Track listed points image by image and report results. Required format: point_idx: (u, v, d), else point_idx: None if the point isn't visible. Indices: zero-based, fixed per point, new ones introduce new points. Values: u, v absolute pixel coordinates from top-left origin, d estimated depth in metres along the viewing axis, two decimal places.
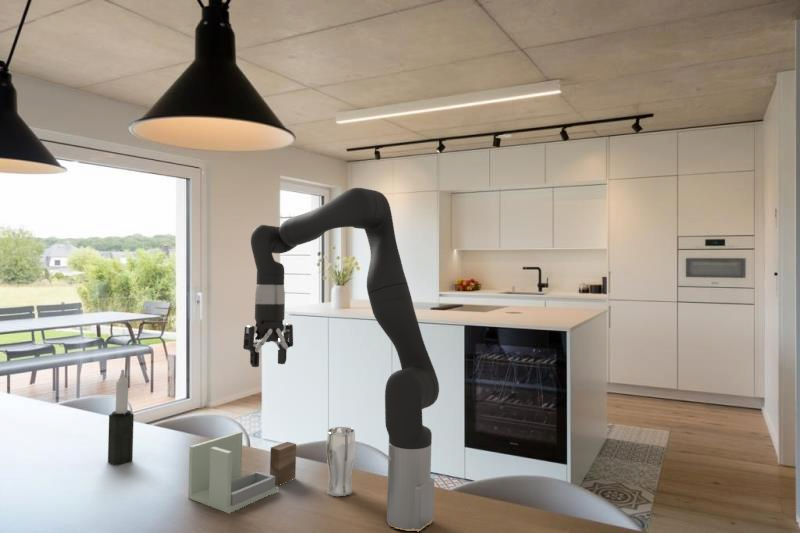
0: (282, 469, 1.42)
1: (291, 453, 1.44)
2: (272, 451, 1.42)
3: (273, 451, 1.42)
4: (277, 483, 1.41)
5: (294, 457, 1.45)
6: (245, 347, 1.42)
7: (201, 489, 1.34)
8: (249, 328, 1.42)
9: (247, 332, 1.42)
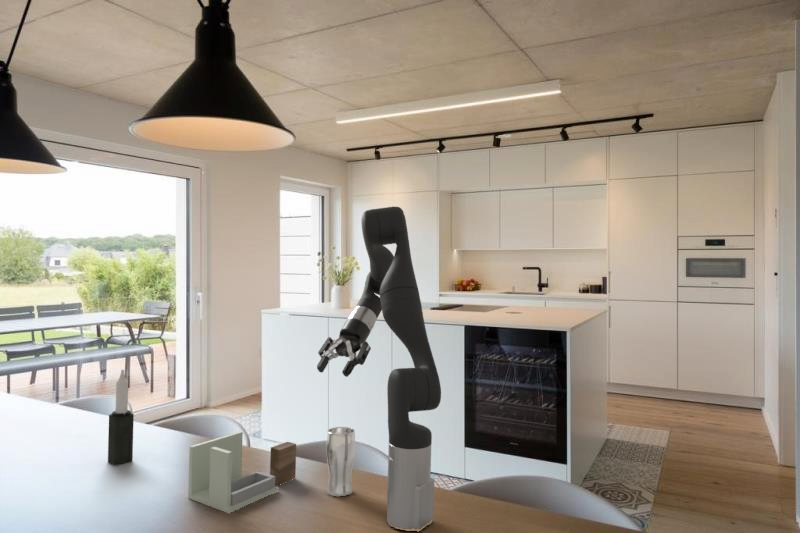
0: (282, 469, 1.42)
1: (291, 453, 1.44)
2: (272, 451, 1.42)
3: (273, 451, 1.42)
4: (277, 483, 1.41)
5: (294, 457, 1.45)
6: None
7: (201, 489, 1.34)
8: None
9: None
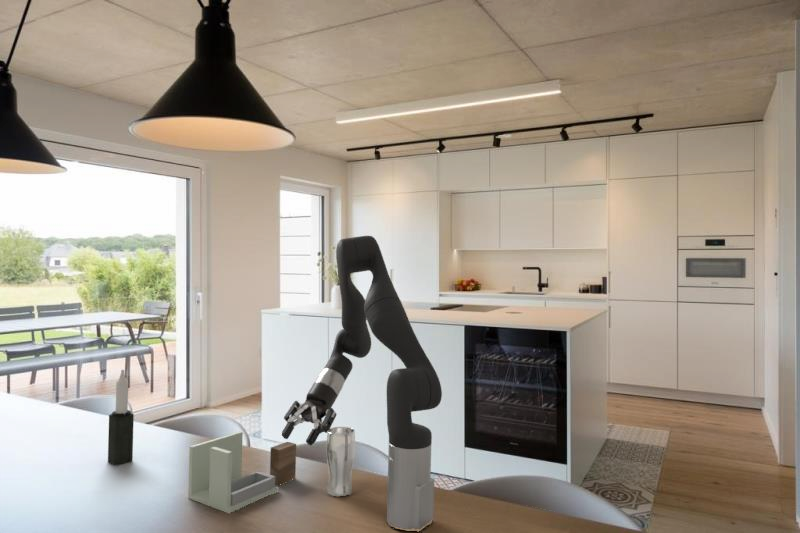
0: (282, 469, 1.42)
1: (291, 453, 1.44)
2: (272, 451, 1.42)
3: (273, 451, 1.42)
4: (277, 483, 1.41)
5: (294, 457, 1.45)
6: None
7: (201, 489, 1.34)
8: None
9: None
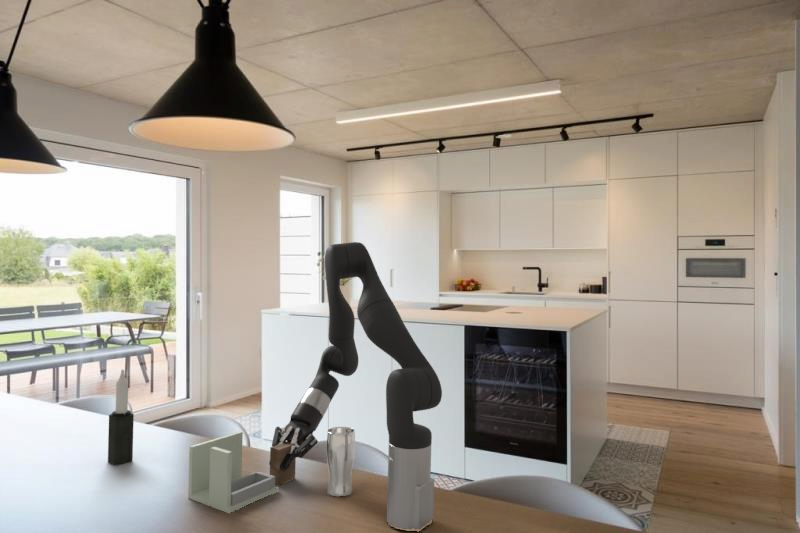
0: None
1: None
2: (272, 451, 1.42)
3: (273, 451, 1.42)
4: (277, 483, 1.41)
5: None
6: None
7: (201, 489, 1.34)
8: None
9: None
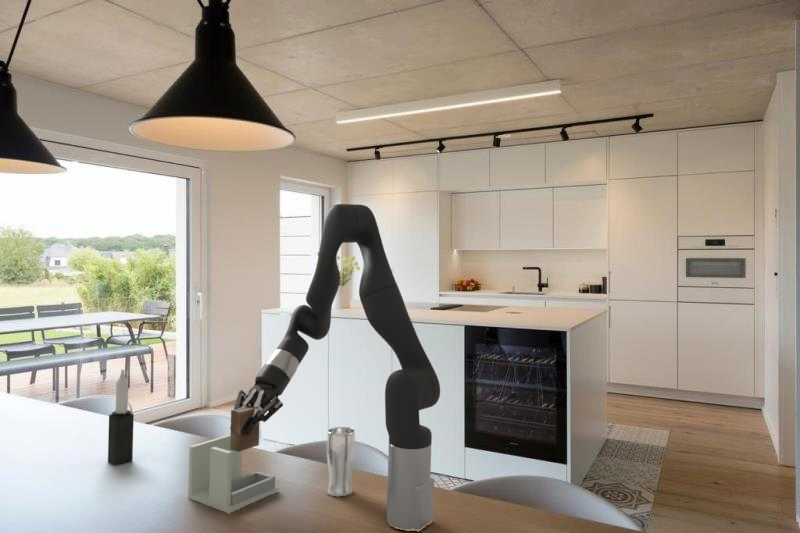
0: None
1: None
2: (232, 414, 1.31)
3: (233, 414, 1.31)
4: (238, 448, 1.30)
5: None
6: None
7: (201, 489, 1.34)
8: None
9: None
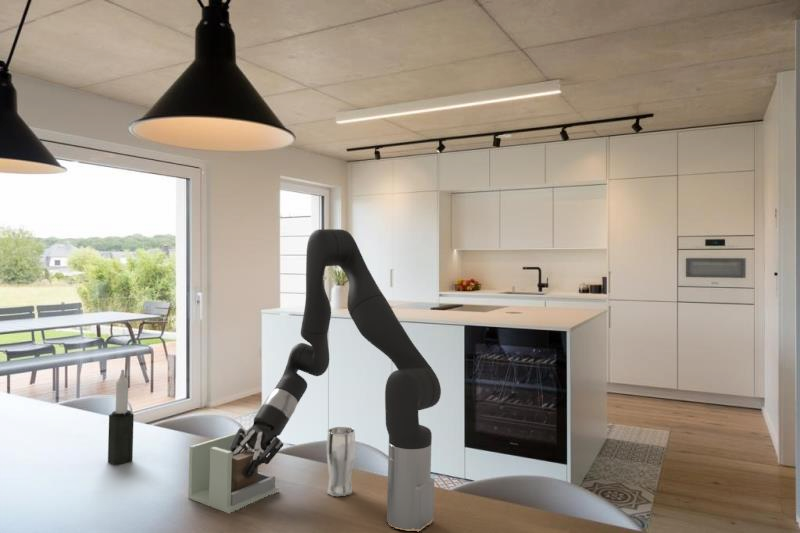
0: (242, 480, 1.31)
1: None
2: None
3: (232, 461, 1.31)
4: None
5: None
6: None
7: (201, 489, 1.34)
8: None
9: None
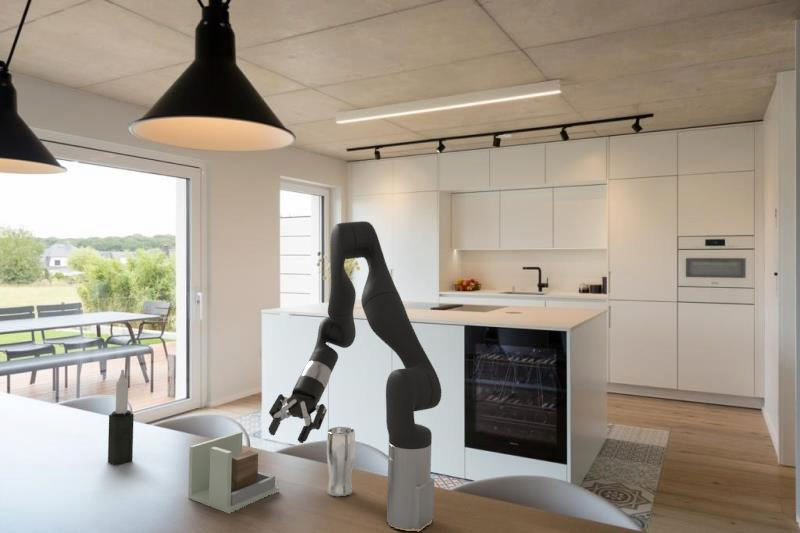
0: (242, 480, 1.31)
1: (252, 463, 1.33)
2: None
3: (232, 461, 1.31)
4: None
5: (256, 467, 1.34)
6: None
7: (201, 489, 1.34)
8: None
9: None
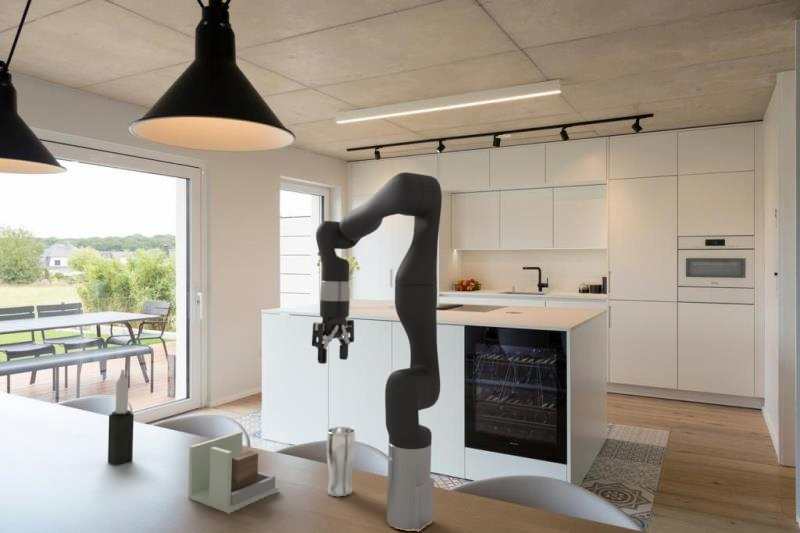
0: (242, 480, 1.31)
1: (252, 463, 1.33)
2: None
3: (232, 461, 1.31)
4: None
5: (256, 467, 1.34)
6: (314, 344, 1.41)
7: (201, 489, 1.34)
8: (318, 325, 1.41)
9: (316, 329, 1.41)
